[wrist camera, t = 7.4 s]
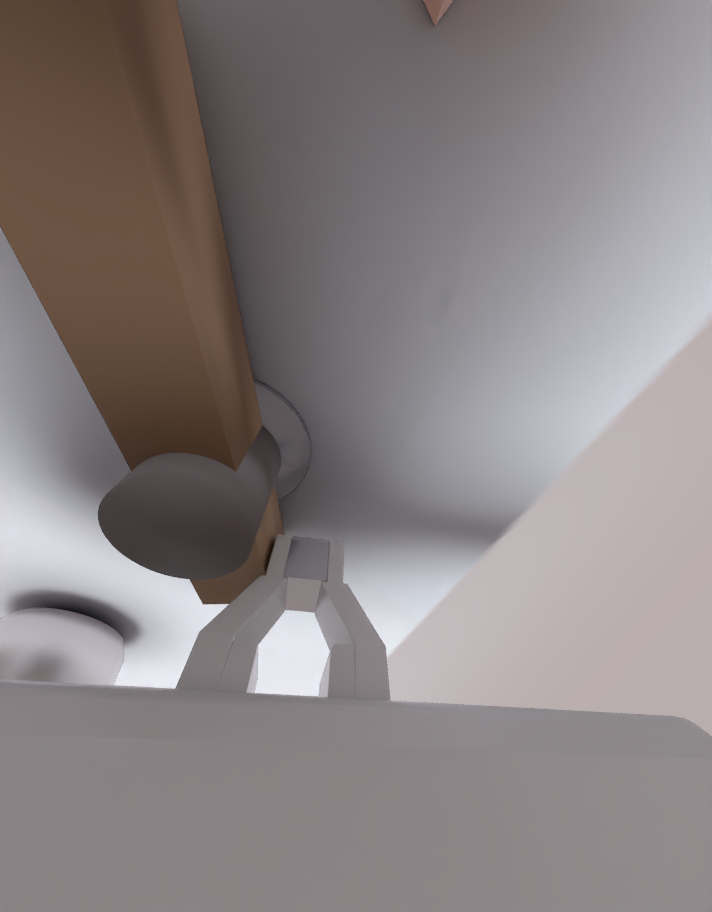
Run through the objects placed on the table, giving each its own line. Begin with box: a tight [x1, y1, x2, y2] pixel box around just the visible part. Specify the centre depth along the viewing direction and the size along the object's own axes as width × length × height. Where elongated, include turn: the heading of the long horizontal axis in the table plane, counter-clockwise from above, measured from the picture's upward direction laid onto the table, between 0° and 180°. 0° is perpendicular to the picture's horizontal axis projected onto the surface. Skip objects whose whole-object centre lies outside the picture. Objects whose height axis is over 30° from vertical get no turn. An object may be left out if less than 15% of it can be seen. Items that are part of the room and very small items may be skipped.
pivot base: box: [253, 379, 311, 500], centre depth 10 cm, size 5×5×1 cm
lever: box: [0, 0, 285, 604], centre depth 7 cm, size 14×3×3 cm, turn 0°
